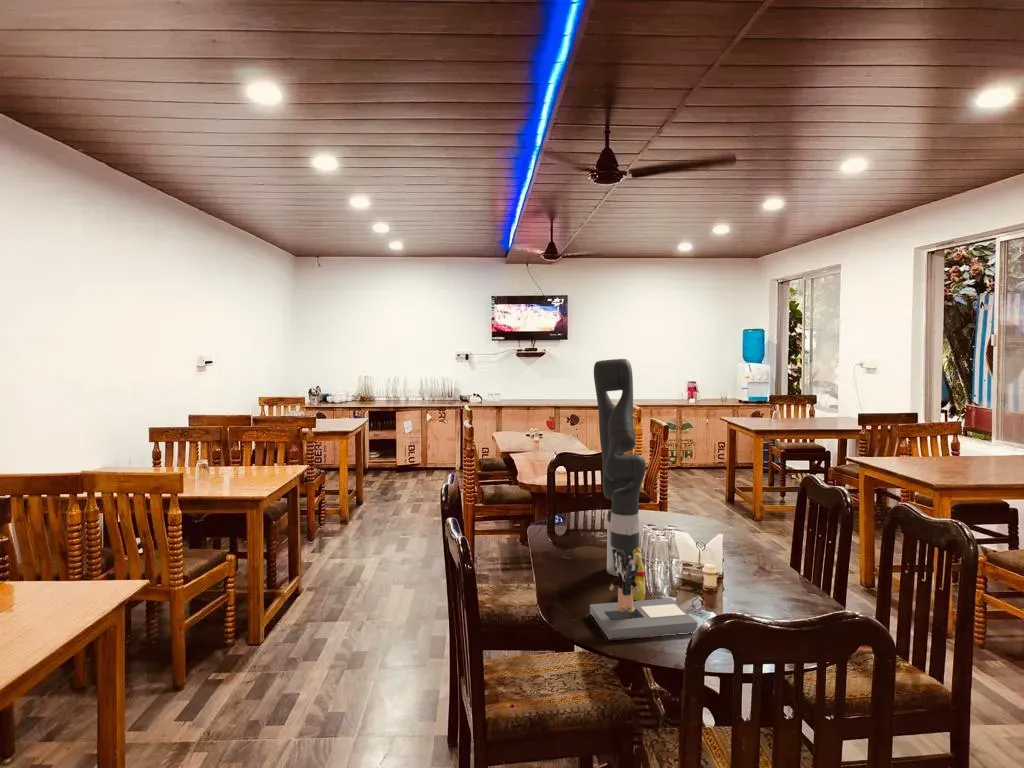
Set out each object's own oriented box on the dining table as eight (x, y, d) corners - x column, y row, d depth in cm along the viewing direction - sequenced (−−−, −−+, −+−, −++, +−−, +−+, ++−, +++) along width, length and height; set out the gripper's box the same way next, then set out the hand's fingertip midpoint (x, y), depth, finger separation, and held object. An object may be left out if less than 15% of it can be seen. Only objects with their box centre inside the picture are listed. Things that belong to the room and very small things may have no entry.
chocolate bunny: (642, 588, 197) (643, 540, 196) (647, 603, 186) (647, 552, 185) (620, 587, 198) (620, 540, 197) (623, 602, 187) (623, 551, 186)
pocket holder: (589, 615, 178) (589, 603, 178) (670, 608, 182) (671, 597, 182) (608, 641, 162) (608, 629, 162) (696, 633, 167) (697, 621, 167)
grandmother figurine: (636, 606, 174) (636, 560, 173) (640, 612, 170) (640, 565, 169) (608, 607, 173) (608, 561, 173) (611, 613, 170) (611, 566, 169)
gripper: (602, 522, 176) (602, 583, 177) (620, 537, 162) (620, 604, 164) (628, 520, 177) (628, 581, 179) (648, 536, 164) (647, 601, 165)
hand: (624, 592), depth 171 cm, fingers closed on grandmother figurine, 2 cm apart
